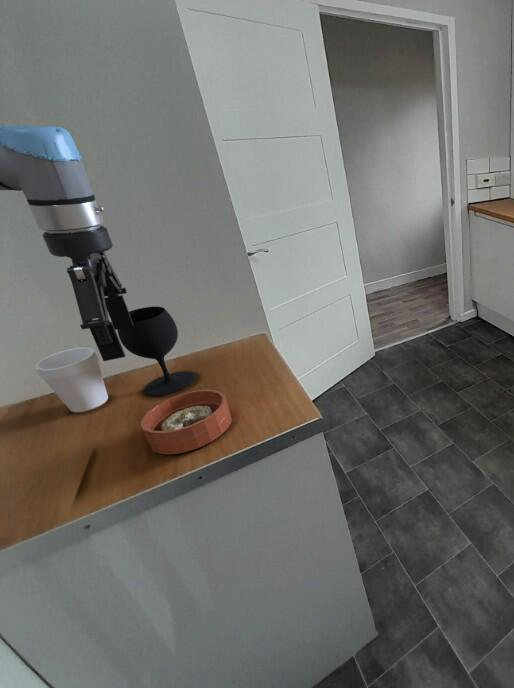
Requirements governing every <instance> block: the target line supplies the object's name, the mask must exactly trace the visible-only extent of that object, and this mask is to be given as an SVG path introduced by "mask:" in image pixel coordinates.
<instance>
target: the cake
mask: <svg viewBox="0 0 514 688" xmlns="http://www.w3.org/2000/svg"><path fill="white" fill-rule="evenodd" d="M211 414H212V411H211V408H210V407H207V406H195V407H190V408H186V409H184V410H181V411H178V412H176V413H175V414H173V415H171V416H170V417H169V418H168V419H166V420H164V421H163V423H162V425H161V429H162V431H169V430H175V429H180V428H183V427H186V426H190V425H192V424H194V423H197V422H199V421H201V420H203V419H205V418H206V417H208V416H209V415H211Z"/></svg>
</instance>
